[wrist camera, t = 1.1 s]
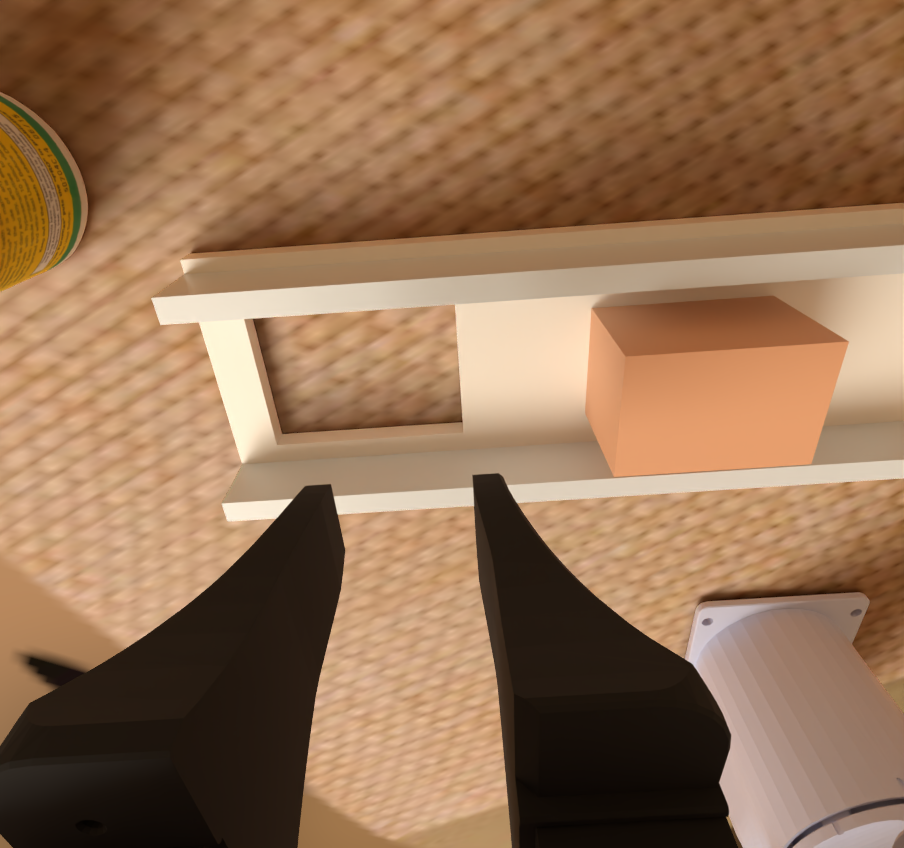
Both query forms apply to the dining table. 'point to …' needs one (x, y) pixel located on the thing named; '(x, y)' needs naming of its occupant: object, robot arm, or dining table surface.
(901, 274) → the trap channel
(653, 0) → the dining table surface
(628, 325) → the terracotta block
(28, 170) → the supplement bottle
